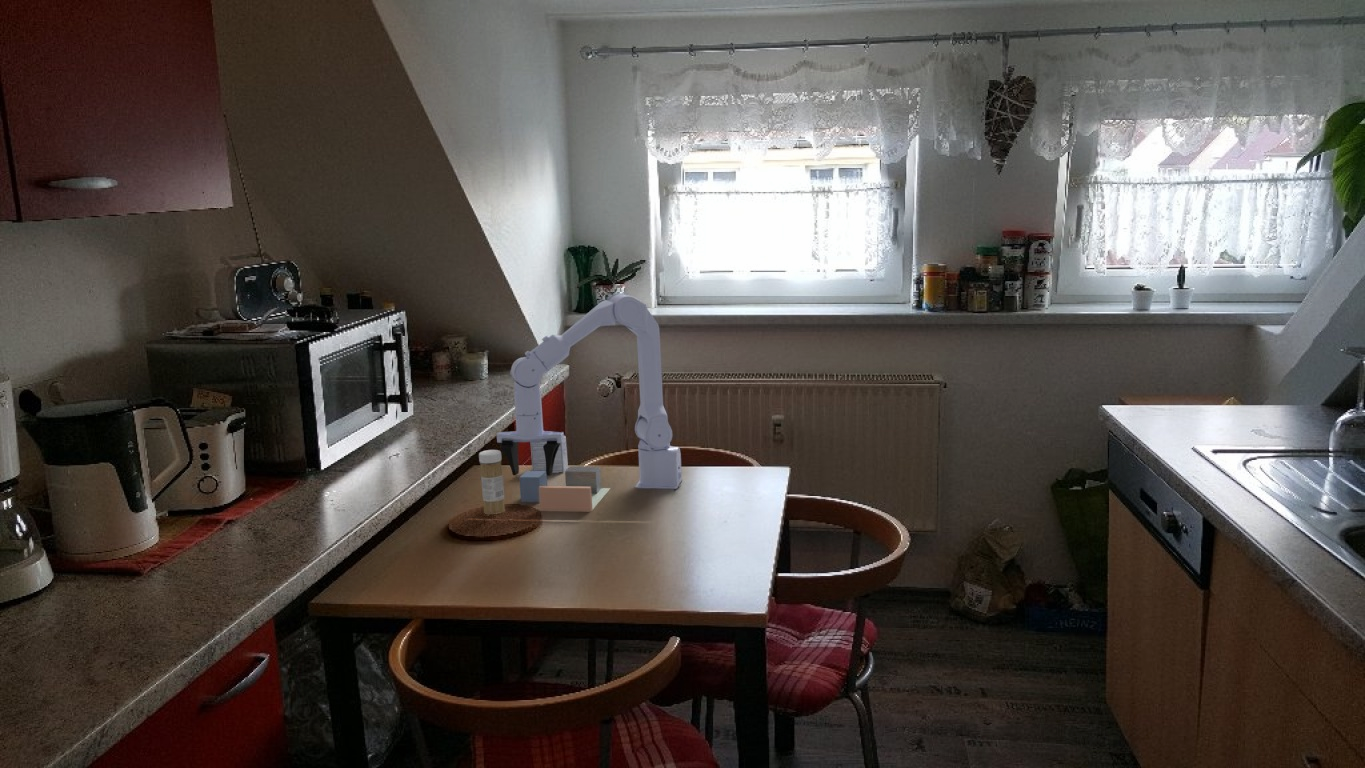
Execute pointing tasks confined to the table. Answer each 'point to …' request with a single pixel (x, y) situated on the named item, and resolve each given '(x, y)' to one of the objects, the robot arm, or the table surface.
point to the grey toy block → (584, 477)
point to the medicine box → (540, 460)
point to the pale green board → (569, 498)
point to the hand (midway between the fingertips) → (532, 474)
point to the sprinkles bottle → (492, 481)
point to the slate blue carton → (532, 485)
